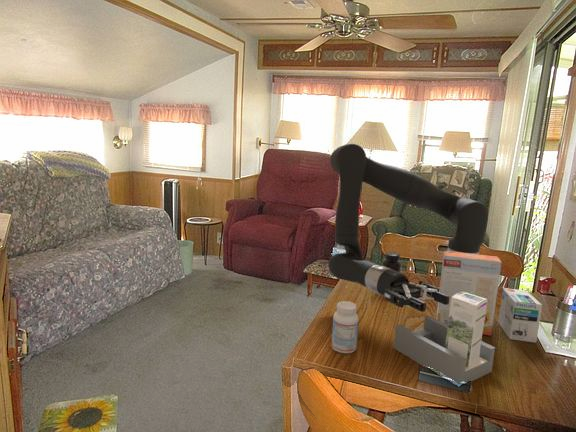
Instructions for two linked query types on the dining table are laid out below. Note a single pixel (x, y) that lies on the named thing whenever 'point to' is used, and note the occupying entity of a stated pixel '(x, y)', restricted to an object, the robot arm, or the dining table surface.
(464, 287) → the cracker box
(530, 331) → the light bulb box
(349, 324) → the pill bottle
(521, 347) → the dining table surface
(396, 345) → the trap lane
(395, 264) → the supplement bottle
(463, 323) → the syrup box
